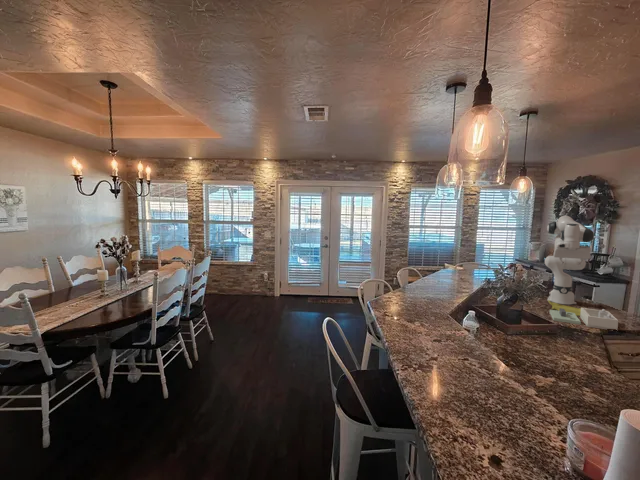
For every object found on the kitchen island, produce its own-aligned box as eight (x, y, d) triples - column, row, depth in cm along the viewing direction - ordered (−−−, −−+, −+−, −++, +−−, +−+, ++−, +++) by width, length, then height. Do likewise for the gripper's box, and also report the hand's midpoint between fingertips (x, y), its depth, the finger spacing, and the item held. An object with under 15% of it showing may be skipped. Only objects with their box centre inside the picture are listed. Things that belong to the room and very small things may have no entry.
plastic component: (581, 309, 213) (583, 306, 206) (580, 319, 212) (581, 316, 204) (548, 302, 226) (548, 299, 219) (546, 311, 225) (546, 308, 217)
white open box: (580, 317, 203) (581, 305, 202) (607, 321, 196) (608, 308, 195) (587, 326, 186) (588, 313, 185) (617, 331, 179) (618, 317, 178)
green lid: (549, 312, 214) (549, 304, 213) (574, 315, 206) (574, 308, 206) (553, 320, 197) (554, 312, 196) (580, 324, 190) (581, 316, 189)
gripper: (589, 246, 205) (588, 265, 204) (553, 245, 215) (552, 263, 215) (592, 246, 199) (591, 265, 199) (554, 245, 210) (554, 263, 210)
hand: (571, 264), depth 207 cm, fingers open, 8 cm apart
